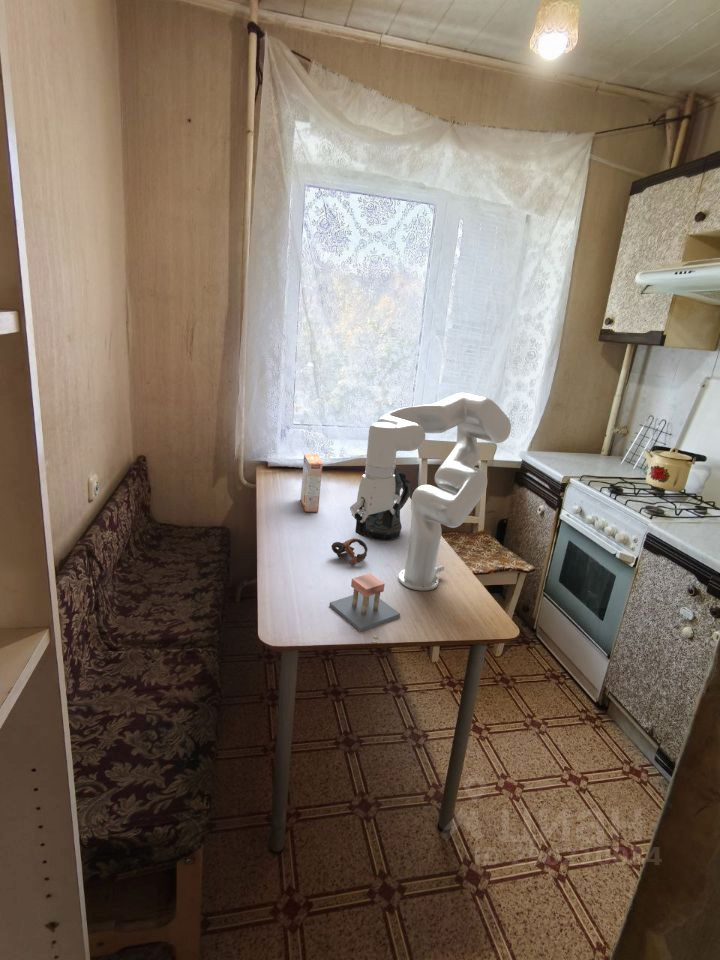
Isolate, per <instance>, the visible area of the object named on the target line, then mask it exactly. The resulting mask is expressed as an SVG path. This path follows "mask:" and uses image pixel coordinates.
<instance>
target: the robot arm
mask: <svg viewBox="0 0 720 960" xmlns="http://www.w3.org/2000/svg"><path fill="white" fill-rule="evenodd" d="M455 427H456V428H457V429H456V442H455V445H454V448H452V450H451V452H450V453H449V454H448V456H447V457H446V458H445V459H444V461H443V462H442V463H441V464H440V466H439V467H438V469H437V470H436V472H435V474H434V483H435V484H436V485H437V486H435V485H431V484H422V485H419V486H418V487H416V488H415V489H414V491H413V492H412V495H411V501H410V507H411V523H410V530H409V538H408V545H407V549H406V550H407V551H406V558H405V564H404V569H402V570H401V571H400V572H399V573H398V581H399V582H400V584H402V585H403V586H404V587H405V588H408V589H412V590H414V591H415V590H416V591H423V592H424V591H431V590H434V589H436V588H437V587H438V585H439V578H438V577H437V575H438V573H440V572H441V573H442V572H444V571H445V567H444V565H443V564H442V565H441V564H440V565H438V566H437V563H438V557H439V550H440V545H441V538H442V525H443V526H445V527H448V528H452V529H453V528H458V527H460V526H461V525H462V524H463V523H464V522H465V521H466V519H467V518H468V517H469V515H470V514H471V513H472V512H473V510H474V509H475V507H476V506H477V505H478V503H479V501H480V500H481V499H482V498H483V496H484V494H485V492H486V490H487V487H488V476H487V474H486V472H485V471H484V470H482V469H480V468H479V467H476V466H477V464H478V462H479V460H480V456H481V454H480V448H479V443H478V439H479V440H482V441H486V442H490V443H493V444H500V443H503V442H505V441H506V440H508V439H509V436H510V434H511V431H512V423H511V421H510V419H509V417H508V415H507V414H506V413H505V412H504V411H503V410H502V409H501V407H500V406H499V405H498V404H497V403H496V402H494V401H493V400H492V399H491V398H488V397H485V396H480V395H476V394H471V393H466V392H459V393H458V392H457V393H455V394H453V395H451V396H448V397H446V398H444V399H441V400H439V401H437V402H434V403H431V404H422V405H415V406H407V407H400V408H397V409H395V410H392V411H389V412H387V413H386V414H385V413H384V414H383V415H382V416H381V417H379V418H378V419H377V421H376V422H373V423H372V424H371V425H370V426H369V430H368V437H367V438H368V439H367V449H366V460H365V470H364V474H363V475H362V476H361V479H360V482H359V485H358V492H357V495H356V501H355V503H353V504H352V505H351V506H350V508H349V509H350V513H351V516H352V517H353V518H354V520H355V522H356V523H355V533H356V534H358V535H359V536H361V537H366V536H365V529H366V522H364V521H365V520H366V518H367V517H368V515H370V514H375V513H379V512H382V511H384V513H383V521H382V525H384V526H386V527H388V528H392V520H393V515H394V514H395V510H396V509H397V507H398V503H399V502H400V500H401V497H400V496H401V495H400V496H398V495H396V494H395V475H394V469H396V468H397V465H396V460H397V459H396V458H397V452H401V451H403V452H412V451H416V450H419V449H420V448H421V447H422V446H423V445H424V443H425V441H426V434H442V433H445V432H447V431H449V430H451V429H453V428H455ZM364 509H365V510H366V511H365V510H364ZM362 513H364V514H363V516H362V517H361V515H362Z"/></svg>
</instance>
